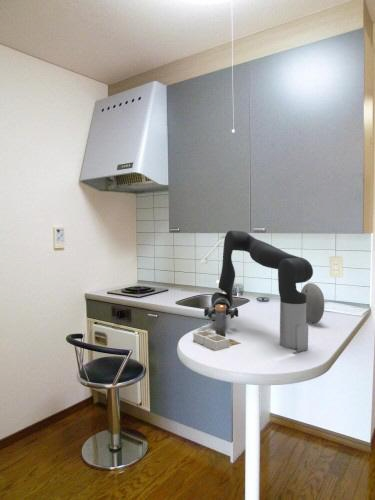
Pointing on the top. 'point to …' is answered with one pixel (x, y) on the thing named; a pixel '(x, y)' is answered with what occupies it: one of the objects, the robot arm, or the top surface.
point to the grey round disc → (313, 302)
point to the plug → (220, 320)
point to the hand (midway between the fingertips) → (220, 316)
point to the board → (231, 343)
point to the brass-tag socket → (217, 342)
